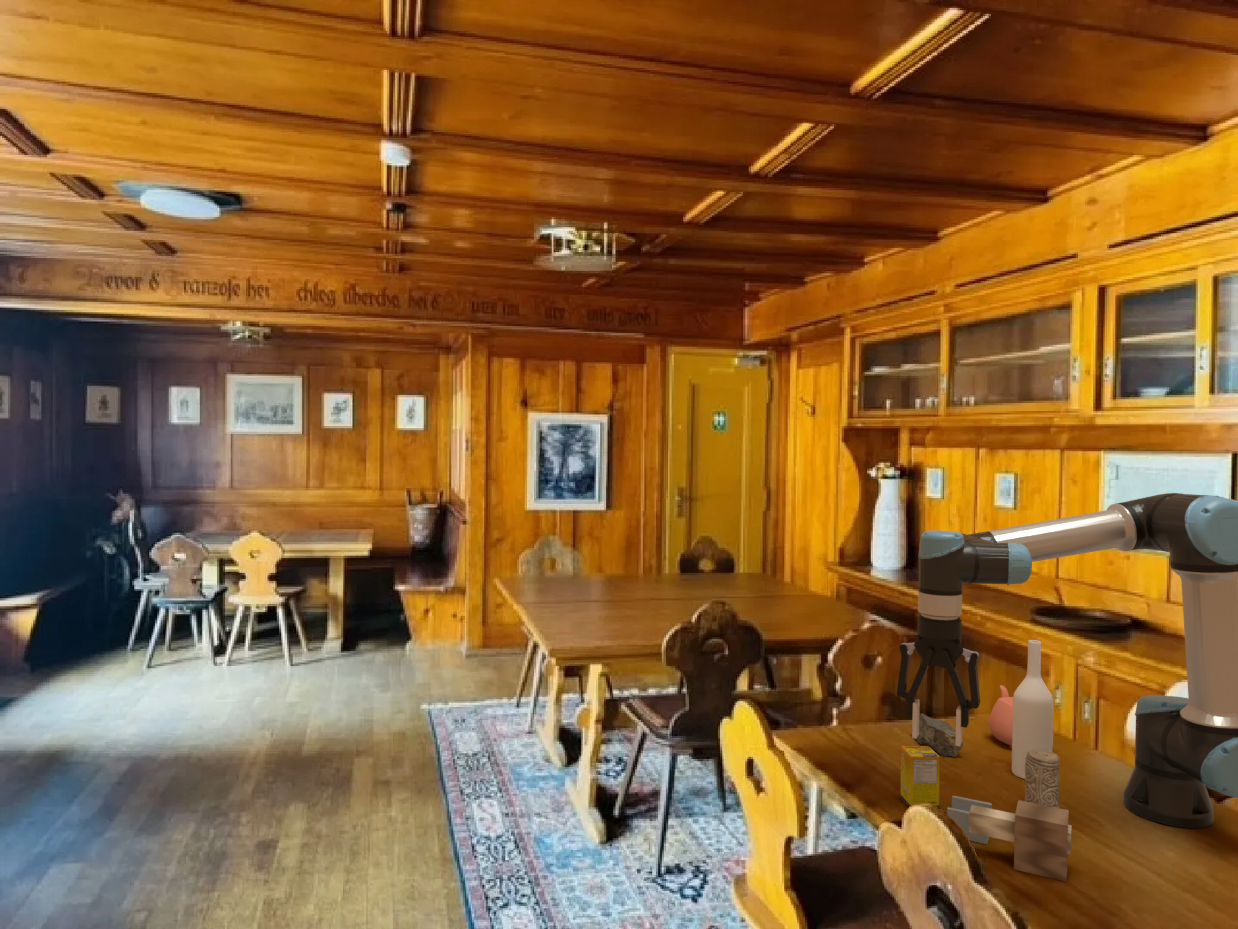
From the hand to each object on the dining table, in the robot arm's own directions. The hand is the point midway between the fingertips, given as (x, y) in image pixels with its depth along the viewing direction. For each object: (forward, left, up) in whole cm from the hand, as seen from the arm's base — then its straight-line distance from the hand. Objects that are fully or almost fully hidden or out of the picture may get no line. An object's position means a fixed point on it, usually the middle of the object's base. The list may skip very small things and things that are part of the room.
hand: (936, 739), depth 154 cm
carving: (-17, -24, -19) cm, 35 cm away
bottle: (-14, -45, -19) cm, 51 cm away
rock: (+8, -52, -19) cm, 56 cm away
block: (-18, 0, -19) cm, 26 cm away
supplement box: (+5, -16, -19) cm, 26 cm away
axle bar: (-14, 0, -15) cm, 21 cm away
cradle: (-5, -8, -19) cm, 21 cm away
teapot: (-10, -66, -19) cm, 69 cm away
